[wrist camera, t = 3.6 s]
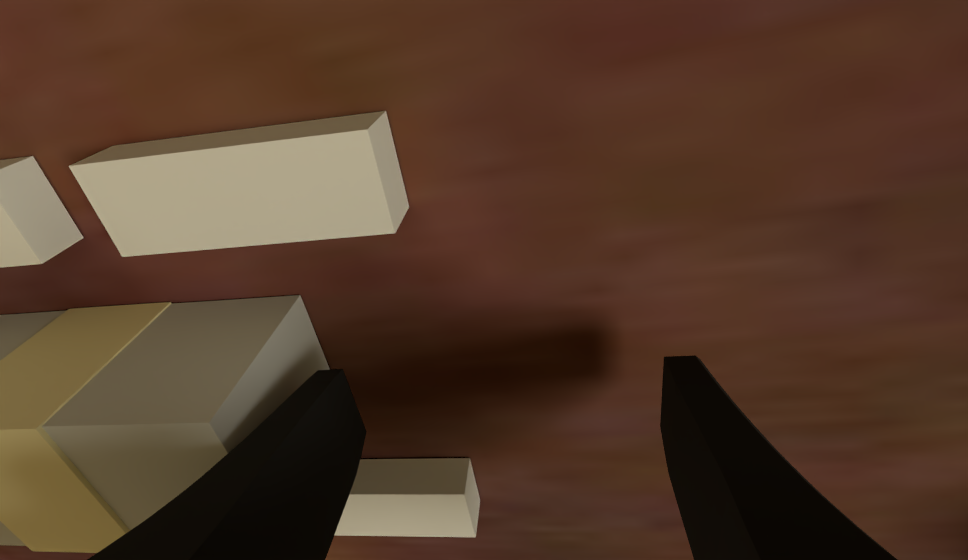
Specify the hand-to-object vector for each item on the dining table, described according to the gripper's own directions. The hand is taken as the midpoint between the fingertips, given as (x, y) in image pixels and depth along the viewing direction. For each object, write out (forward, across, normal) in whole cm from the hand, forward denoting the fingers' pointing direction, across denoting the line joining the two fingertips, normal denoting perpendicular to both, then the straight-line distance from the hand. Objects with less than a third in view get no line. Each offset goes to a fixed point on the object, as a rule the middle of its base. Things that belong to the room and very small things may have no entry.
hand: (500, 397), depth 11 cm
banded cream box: (+2, +10, 0) cm, 10 cm away
